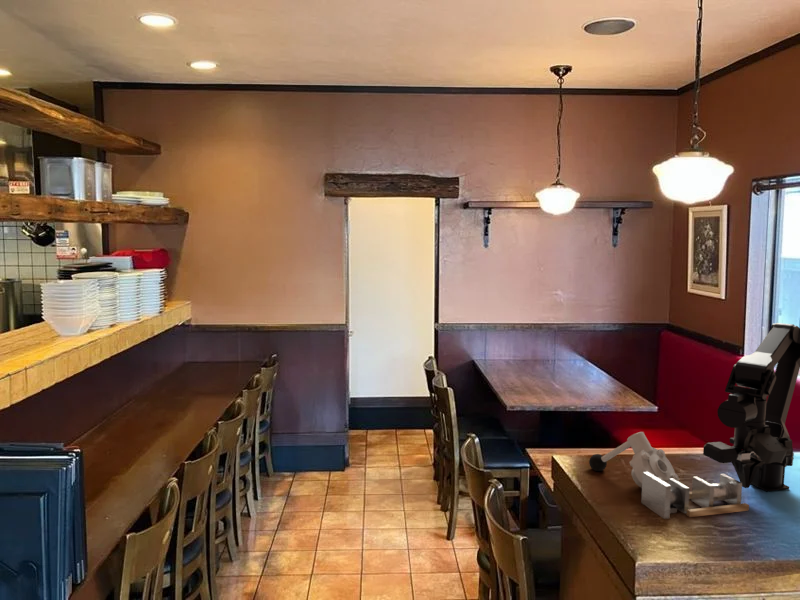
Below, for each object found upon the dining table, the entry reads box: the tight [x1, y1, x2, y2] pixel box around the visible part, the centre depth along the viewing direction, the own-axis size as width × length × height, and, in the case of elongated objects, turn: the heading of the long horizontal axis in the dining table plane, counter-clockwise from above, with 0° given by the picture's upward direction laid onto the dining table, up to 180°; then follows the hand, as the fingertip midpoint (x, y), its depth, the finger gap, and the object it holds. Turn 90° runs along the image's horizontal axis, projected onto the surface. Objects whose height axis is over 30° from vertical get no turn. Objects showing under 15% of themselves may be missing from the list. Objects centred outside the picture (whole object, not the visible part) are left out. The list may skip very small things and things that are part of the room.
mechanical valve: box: [588, 431, 680, 489], centre depth 154 cm, size 10×18×15 cm
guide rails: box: [686, 490, 750, 518], centre depth 141 cm, size 14×9×1 cm, turn 103°
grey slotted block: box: [690, 473, 743, 508], centre depth 141 cm, size 8×6×6 cm
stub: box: [640, 472, 691, 520], centre depth 138 cm, size 7×8×7 cm
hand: (745, 487), depth 143 cm, fingers closed
